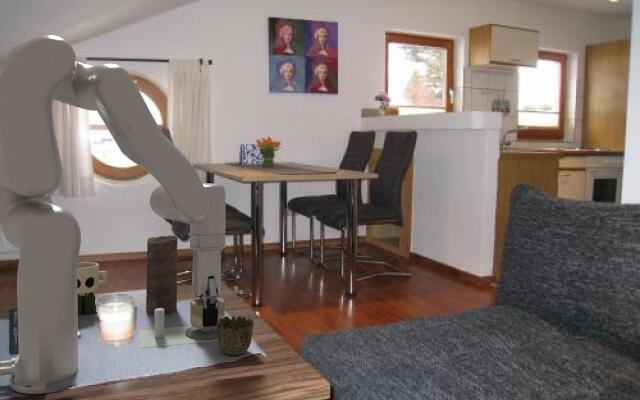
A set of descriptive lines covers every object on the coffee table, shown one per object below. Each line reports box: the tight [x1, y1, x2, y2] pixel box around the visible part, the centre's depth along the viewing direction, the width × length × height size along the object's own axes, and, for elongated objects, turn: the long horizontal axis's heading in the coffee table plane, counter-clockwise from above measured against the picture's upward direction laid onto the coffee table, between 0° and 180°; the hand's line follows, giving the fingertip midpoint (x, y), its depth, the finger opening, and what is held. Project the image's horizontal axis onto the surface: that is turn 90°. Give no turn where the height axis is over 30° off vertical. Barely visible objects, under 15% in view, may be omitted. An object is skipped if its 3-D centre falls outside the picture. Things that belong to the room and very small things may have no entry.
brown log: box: [145, 234, 178, 316], centre depth 136 cm, size 8×7×20 cm
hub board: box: [138, 303, 218, 349], centre depth 120 cm, size 18×11×8 cm, turn 111°
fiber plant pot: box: [216, 315, 255, 357], centre depth 110 cm, size 8×7×8 cm
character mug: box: [77, 261, 108, 317], centre depth 133 cm, size 11×7×13 cm, turn 113°
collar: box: [189, 296, 226, 329], centre depth 121 cm, size 7×7×5 cm
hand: (207, 319), depth 121 cm, fingers closed on collar, 7 cm apart
